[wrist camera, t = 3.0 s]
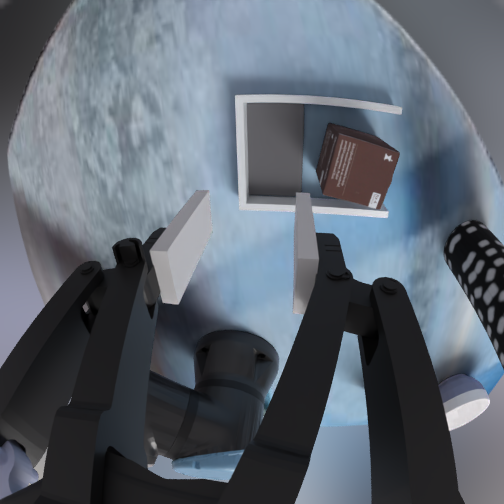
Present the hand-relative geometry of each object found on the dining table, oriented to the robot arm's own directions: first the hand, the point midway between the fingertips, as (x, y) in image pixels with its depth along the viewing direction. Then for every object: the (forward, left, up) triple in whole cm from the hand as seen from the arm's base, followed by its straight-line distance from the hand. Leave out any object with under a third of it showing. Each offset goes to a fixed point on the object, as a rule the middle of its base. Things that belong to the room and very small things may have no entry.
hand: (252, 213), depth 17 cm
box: (+8, 0, -17) cm, 19 cm away
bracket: (+5, 0, -17) cm, 17 cm away
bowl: (+44, -48, -17) cm, 68 cm away
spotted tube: (+29, -11, -17) cm, 35 cm away
